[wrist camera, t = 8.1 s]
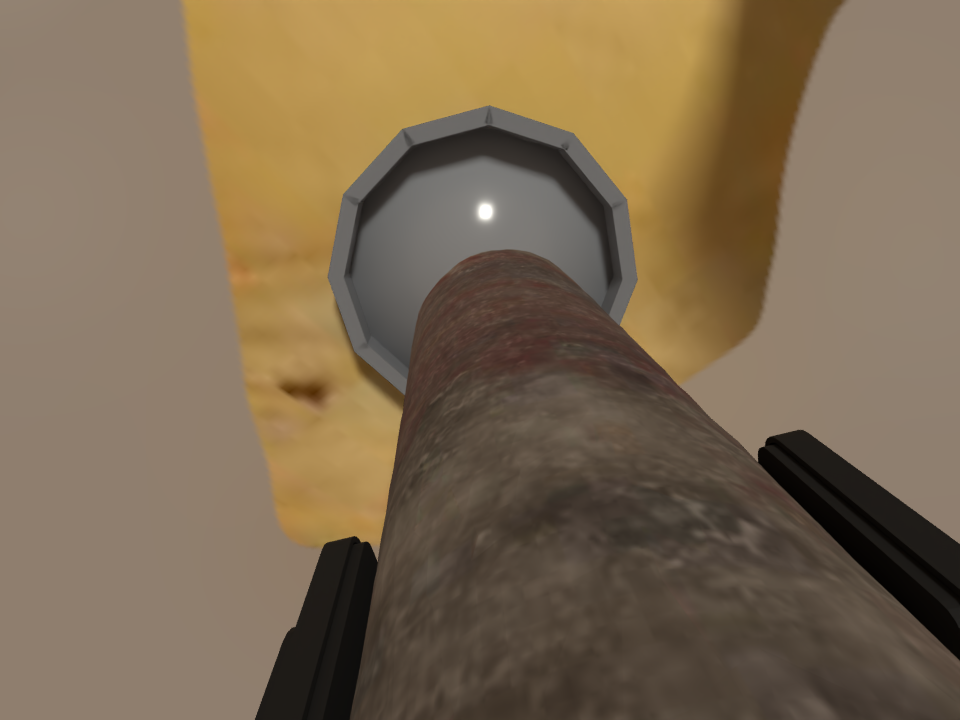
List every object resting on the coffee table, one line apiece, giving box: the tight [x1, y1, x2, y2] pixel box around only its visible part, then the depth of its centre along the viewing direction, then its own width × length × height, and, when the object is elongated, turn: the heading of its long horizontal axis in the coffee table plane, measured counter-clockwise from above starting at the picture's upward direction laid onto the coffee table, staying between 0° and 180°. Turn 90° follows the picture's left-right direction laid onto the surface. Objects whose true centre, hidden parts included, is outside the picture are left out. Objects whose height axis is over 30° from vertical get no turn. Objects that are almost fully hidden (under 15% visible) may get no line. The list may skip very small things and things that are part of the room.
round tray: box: [328, 105, 637, 395], centre depth 35 cm, size 20×20×3 cm
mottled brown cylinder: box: [350, 249, 960, 720], centre depth 12 cm, size 8×7×20 cm
